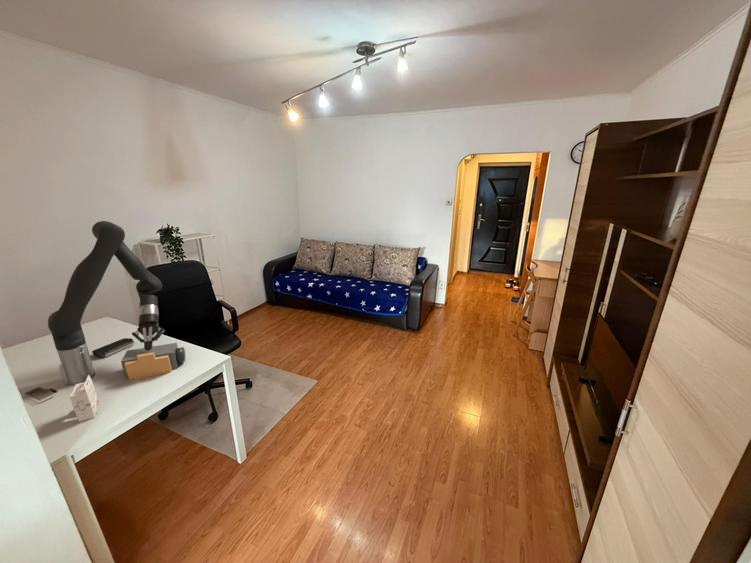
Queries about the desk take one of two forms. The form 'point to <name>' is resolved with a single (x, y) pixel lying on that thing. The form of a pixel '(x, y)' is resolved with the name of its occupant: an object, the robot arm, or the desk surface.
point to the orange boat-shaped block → (148, 366)
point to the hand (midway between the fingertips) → (148, 349)
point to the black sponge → (113, 347)
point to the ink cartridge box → (84, 400)
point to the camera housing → (156, 355)
